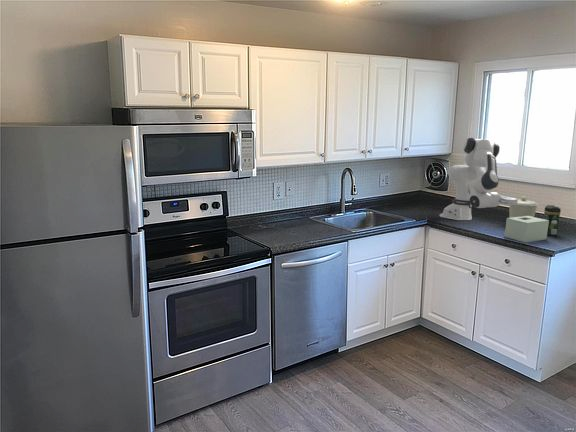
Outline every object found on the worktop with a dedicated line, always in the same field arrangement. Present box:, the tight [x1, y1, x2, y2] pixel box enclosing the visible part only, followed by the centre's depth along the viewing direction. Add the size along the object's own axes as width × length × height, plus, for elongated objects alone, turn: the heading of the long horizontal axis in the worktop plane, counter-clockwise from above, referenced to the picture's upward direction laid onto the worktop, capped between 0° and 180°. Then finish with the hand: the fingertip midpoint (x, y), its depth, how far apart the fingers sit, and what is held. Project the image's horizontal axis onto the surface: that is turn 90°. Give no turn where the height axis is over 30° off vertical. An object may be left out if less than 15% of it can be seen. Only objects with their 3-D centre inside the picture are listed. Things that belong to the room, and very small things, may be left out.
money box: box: [503, 216, 549, 243], centre depth 284 cm, size 20×14×12 cm
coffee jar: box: [543, 204, 562, 236], centre depth 296 cm, size 10×8×19 cm
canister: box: [508, 195, 539, 218], centre depth 315 cm, size 18×18×21 cm
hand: (508, 198), depth 283 cm, fingers open, 8 cm apart
